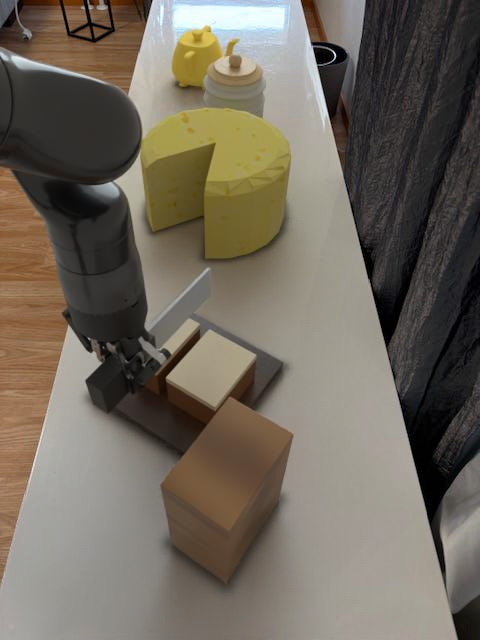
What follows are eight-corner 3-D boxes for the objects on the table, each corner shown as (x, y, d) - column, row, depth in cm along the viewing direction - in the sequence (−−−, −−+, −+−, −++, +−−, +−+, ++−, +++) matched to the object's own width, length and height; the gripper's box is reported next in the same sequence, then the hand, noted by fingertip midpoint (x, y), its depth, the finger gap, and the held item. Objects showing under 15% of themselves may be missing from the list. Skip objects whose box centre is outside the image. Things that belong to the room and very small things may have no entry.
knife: (108, 414, 63) (101, 391, 59) (92, 404, 64) (84, 380, 60) (217, 297, 75) (217, 271, 71) (202, 289, 75) (201, 263, 72)
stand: (226, 584, 65) (228, 531, 51) (171, 544, 68) (160, 484, 54) (278, 500, 71) (293, 433, 57) (227, 467, 74) (229, 396, 60)
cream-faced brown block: (215, 429, 76) (215, 407, 71) (168, 401, 78) (165, 377, 74) (254, 378, 81) (256, 354, 77) (209, 353, 84) (209, 328, 79)
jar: (221, 111, 129) (222, 33, 116) (272, 127, 126) (279, 48, 112) (193, 139, 122) (190, 59, 108) (245, 157, 118) (249, 76, 105)
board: (206, 471, 74) (205, 466, 72) (92, 397, 80) (90, 391, 79) (282, 367, 84) (283, 362, 83) (177, 310, 91) (176, 304, 90)
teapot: (190, 102, 132) (188, 51, 122) (161, 75, 139) (157, 26, 130) (239, 86, 137) (241, 37, 127) (209, 62, 144) (208, 13, 135)
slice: (159, 395, 79) (156, 371, 74) (134, 380, 80) (130, 356, 76) (201, 348, 84) (200, 323, 80) (177, 335, 86) (174, 310, 81)
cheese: (154, 266, 97) (146, 197, 85) (141, 176, 113) (133, 107, 101) (299, 250, 101) (310, 181, 89) (266, 164, 117) (272, 97, 105)
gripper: (20, 274, 53) (60, 376, 66) (134, 341, 48) (152, 436, 61) (76, 230, 57) (103, 334, 70) (186, 289, 52) (192, 388, 66)
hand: (126, 381), depth 66 cm, fingers closed on knife, 2 cm apart
